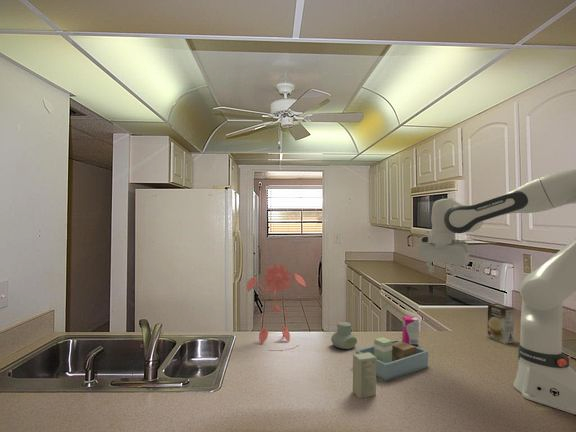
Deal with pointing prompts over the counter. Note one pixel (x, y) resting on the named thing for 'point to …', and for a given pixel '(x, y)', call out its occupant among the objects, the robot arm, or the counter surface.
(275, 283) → the figurine
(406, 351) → the walnut block
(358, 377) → the skincare box
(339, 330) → the air freshener
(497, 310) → the coffee box
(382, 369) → the tote
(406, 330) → the supplement box
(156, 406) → the counter surface
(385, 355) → the carton
